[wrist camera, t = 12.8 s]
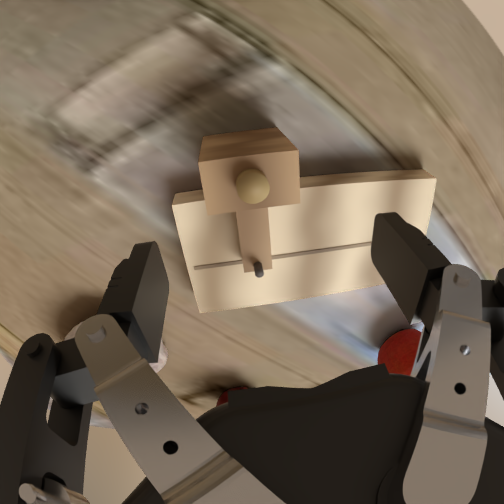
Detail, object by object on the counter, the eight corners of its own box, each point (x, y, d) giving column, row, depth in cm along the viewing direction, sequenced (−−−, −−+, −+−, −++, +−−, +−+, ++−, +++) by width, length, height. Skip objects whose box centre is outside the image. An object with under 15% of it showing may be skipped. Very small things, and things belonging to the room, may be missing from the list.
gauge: (276, 127, 20) (302, 154, 14) (283, 239, 25) (304, 296, 19) (203, 136, 20) (197, 167, 14) (221, 247, 25) (224, 307, 19)
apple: (389, 315, 32) (417, 369, 25) (433, 316, 34) (462, 362, 27) (359, 358, 36) (379, 409, 30) (403, 356, 38) (425, 400, 31)
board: (423, 169, 22) (437, 178, 21) (406, 265, 28) (415, 278, 26) (175, 193, 22) (171, 205, 20) (200, 297, 27) (199, 313, 26)
